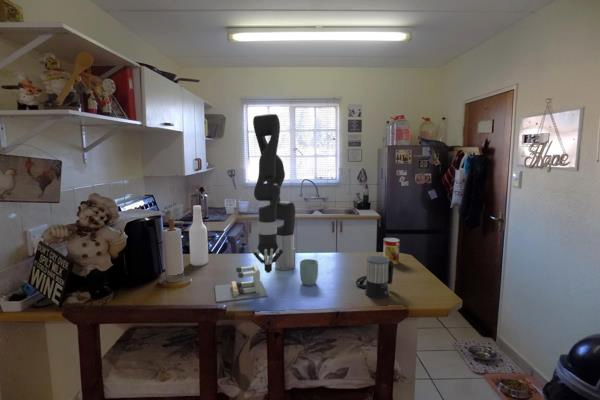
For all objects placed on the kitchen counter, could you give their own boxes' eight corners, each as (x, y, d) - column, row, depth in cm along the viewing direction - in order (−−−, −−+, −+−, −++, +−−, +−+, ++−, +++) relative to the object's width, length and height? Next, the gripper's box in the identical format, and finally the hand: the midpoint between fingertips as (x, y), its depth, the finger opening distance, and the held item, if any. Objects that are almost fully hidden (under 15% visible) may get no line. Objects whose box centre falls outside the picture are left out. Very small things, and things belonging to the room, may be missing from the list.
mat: (261, 282, 154) (261, 276, 153) (267, 296, 139) (267, 290, 138) (214, 286, 148) (214, 280, 148) (216, 302, 133) (216, 295, 133)
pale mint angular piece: (256, 284, 150) (256, 264, 148) (260, 292, 141) (259, 271, 140) (236, 286, 147) (235, 266, 146) (238, 295, 139) (238, 273, 138)
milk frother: (383, 301, 135) (385, 264, 133) (346, 292, 143) (347, 257, 141) (395, 288, 147) (396, 254, 145) (360, 281, 155) (361, 249, 153)
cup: (319, 281, 154) (320, 260, 153) (314, 288, 147) (315, 265, 145) (303, 279, 157) (303, 258, 155) (297, 286, 149) (297, 263, 148)
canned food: (400, 264, 178) (401, 241, 176) (384, 264, 178) (385, 241, 176) (396, 259, 185) (397, 237, 184) (381, 259, 186) (382, 237, 184)
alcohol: (195, 260, 184) (192, 204, 180) (210, 261, 183) (208, 204, 178) (187, 265, 175) (184, 207, 171) (204, 266, 174) (201, 207, 170)
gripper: (281, 228, 148) (281, 267, 151) (250, 230, 145) (251, 270, 147) (285, 232, 141) (285, 273, 144) (253, 234, 138) (253, 276, 140)
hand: (268, 272), depth 145 cm, fingers closed
